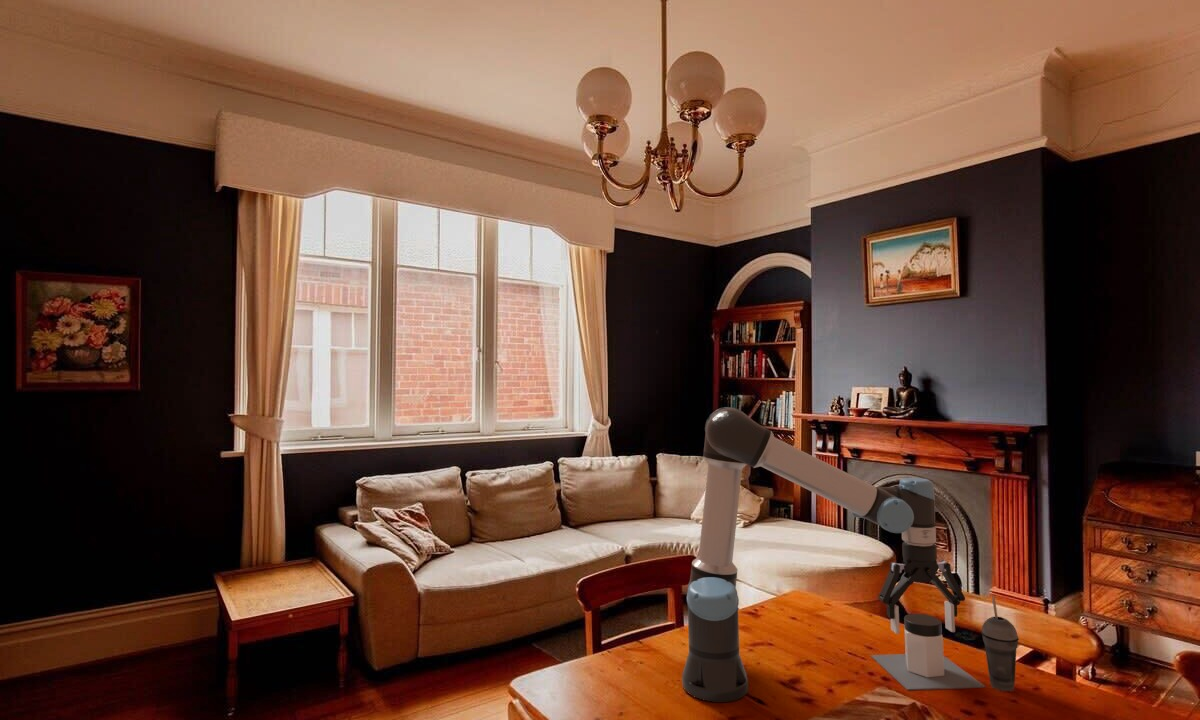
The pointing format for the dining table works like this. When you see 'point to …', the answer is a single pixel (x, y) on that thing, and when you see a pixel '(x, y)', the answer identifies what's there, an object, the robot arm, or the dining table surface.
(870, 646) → the dining table surface
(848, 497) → the robot arm
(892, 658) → the mat
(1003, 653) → the beverage cup
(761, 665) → the dining table surface
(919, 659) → the jar
